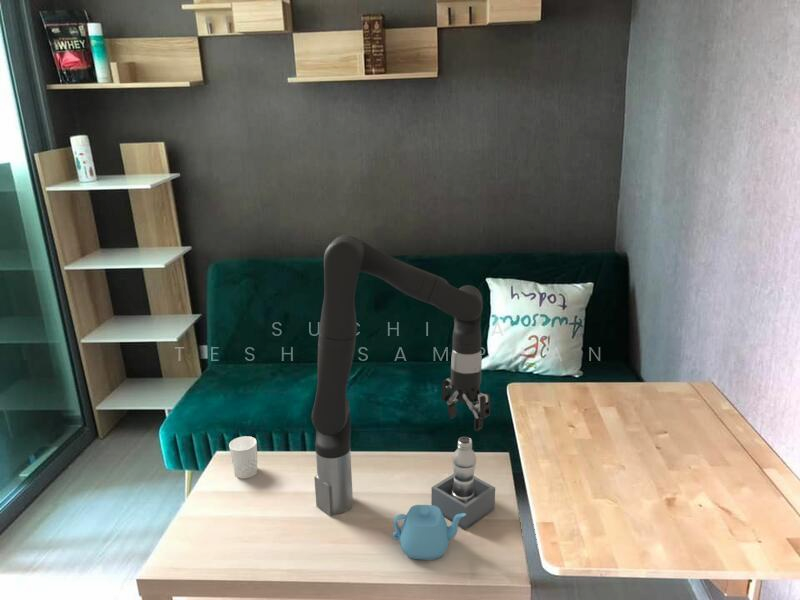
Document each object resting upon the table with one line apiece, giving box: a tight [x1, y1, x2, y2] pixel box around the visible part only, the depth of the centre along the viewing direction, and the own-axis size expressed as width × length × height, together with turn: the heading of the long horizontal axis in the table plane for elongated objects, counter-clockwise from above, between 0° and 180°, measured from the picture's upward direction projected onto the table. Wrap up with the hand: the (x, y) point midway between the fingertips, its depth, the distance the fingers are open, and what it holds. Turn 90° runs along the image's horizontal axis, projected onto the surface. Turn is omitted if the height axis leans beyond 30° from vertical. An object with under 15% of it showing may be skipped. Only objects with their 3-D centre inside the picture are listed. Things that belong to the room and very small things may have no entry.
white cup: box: [228, 435, 258, 480], centre depth 187 cm, size 8×8×10 cm
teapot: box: [392, 504, 466, 561], centre depth 156 cm, size 13×11×18 cm
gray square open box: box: [431, 473, 496, 531], centre depth 170 cm, size 12×12×7 cm
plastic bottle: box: [451, 436, 477, 504], centre depth 167 cm, size 6×7×20 cm
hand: (464, 423), depth 162 cm, fingers open, 8 cm apart
